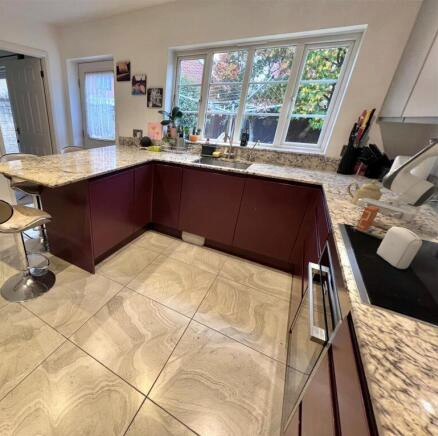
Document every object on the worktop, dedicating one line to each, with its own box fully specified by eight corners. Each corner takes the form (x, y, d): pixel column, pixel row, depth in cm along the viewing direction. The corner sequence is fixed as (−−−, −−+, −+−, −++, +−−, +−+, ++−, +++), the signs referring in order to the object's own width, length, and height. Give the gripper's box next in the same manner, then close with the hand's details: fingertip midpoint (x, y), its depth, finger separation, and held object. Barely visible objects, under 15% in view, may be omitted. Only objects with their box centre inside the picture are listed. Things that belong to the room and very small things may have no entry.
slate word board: (410, 245, 93) (413, 241, 93) (401, 249, 90) (404, 245, 89) (358, 226, 108) (360, 222, 107) (349, 229, 105) (351, 225, 104)
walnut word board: (413, 236, 101) (415, 232, 100) (405, 239, 98) (407, 236, 97) (364, 219, 115) (366, 216, 114) (355, 222, 112) (357, 218, 111)
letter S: (369, 228, 103) (379, 208, 99) (363, 230, 101) (373, 210, 97) (361, 226, 106) (371, 205, 102) (355, 227, 104) (365, 207, 100)
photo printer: (373, 252, 87) (389, 222, 82) (386, 253, 87) (403, 224, 81) (394, 268, 78) (413, 236, 73) (409, 270, 78) (429, 238, 72)
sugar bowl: (343, 203, 137) (354, 178, 130) (342, 198, 145) (352, 174, 139) (377, 209, 129) (390, 183, 123) (373, 203, 138) (385, 179, 131)
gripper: (368, 193, 116) (353, 197, 110) (425, 208, 99) (411, 213, 93) (362, 205, 118) (347, 209, 113) (417, 222, 102) (403, 227, 96)
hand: (377, 211), depth 103 cm, fingers open, 8 cm apart
